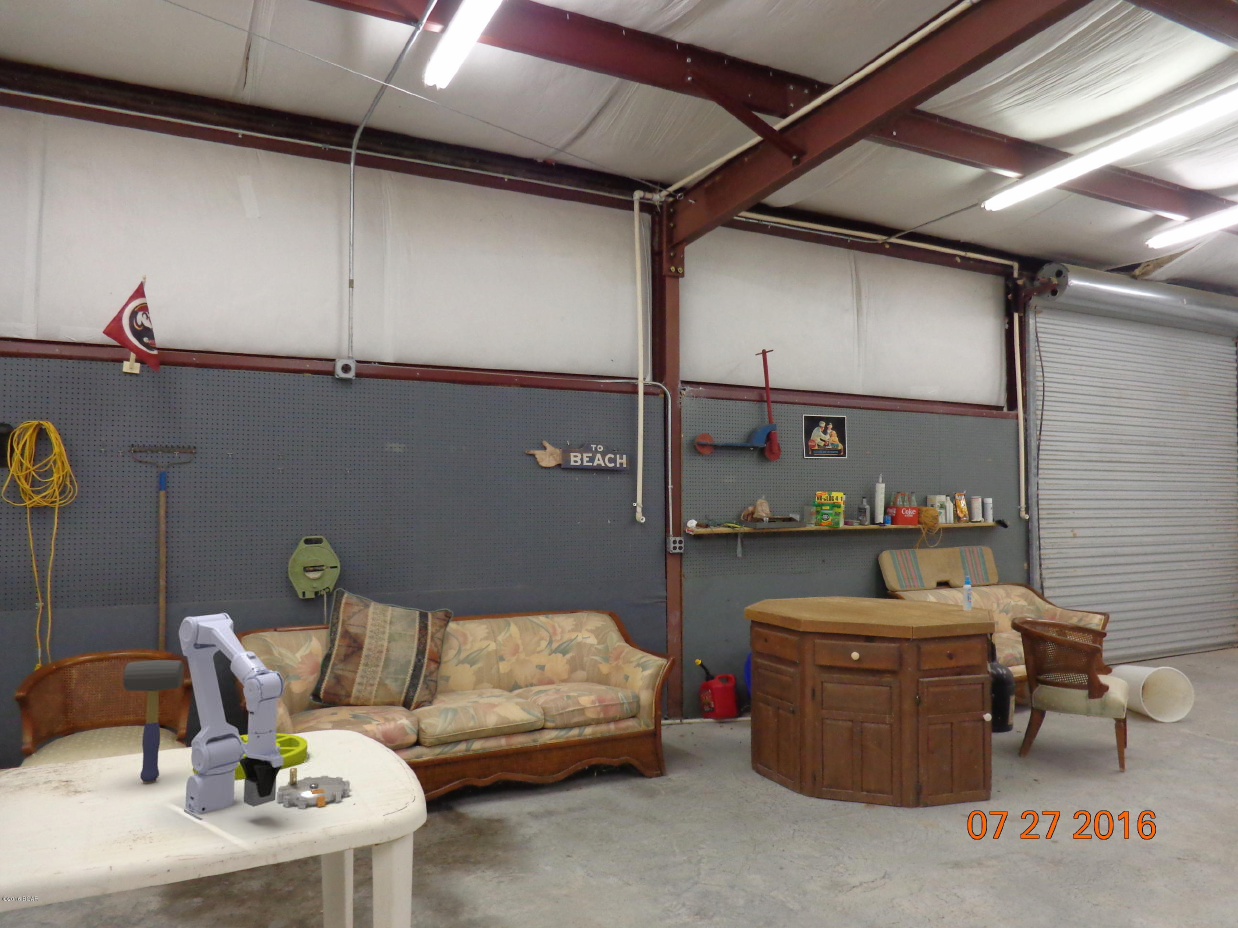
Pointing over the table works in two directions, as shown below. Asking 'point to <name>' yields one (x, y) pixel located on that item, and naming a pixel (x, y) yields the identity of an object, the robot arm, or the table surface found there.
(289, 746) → the pulley
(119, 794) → the table surface
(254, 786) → the link block
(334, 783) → the wheel
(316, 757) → the table surface
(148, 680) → the rubber mallet
